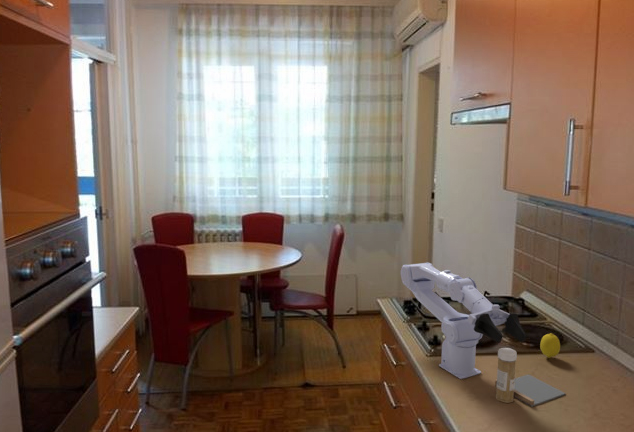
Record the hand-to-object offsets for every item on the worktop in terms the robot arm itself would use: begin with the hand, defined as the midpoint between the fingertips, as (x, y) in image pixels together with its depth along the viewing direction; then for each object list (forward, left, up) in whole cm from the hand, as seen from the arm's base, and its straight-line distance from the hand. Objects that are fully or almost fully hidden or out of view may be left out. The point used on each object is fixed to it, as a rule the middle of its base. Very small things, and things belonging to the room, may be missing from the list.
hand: (512, 339), depth 128 cm
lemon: (-14, +33, -18) cm, 40 cm away
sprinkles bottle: (-3, +2, -18) cm, 19 cm away
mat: (-3, +11, -18) cm, 22 cm away
